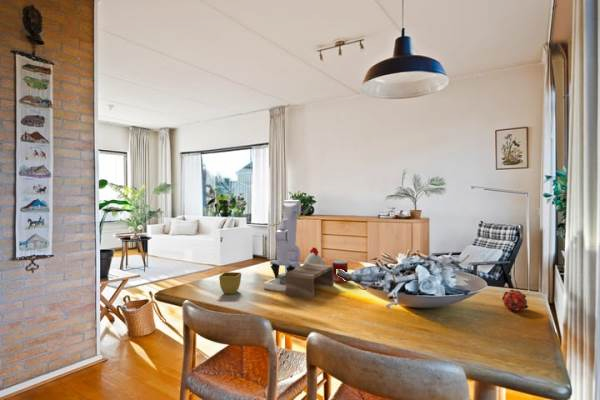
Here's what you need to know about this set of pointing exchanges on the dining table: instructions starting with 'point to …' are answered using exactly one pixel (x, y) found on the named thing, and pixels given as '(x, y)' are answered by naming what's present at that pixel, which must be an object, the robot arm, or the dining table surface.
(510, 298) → the dragon fruit
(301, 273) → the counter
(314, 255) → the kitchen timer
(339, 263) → the canned food
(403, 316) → the dining table surface
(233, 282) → the flower pot
